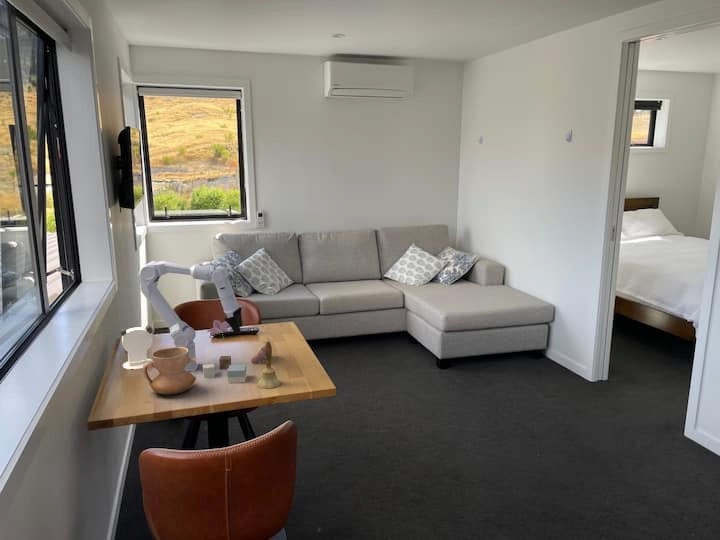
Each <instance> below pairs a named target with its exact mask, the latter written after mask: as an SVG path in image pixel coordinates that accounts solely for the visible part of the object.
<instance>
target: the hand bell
mask: <svg viewBox="0 0 720 540" xmlns="http://www.w3.org/2000/svg"><path fill="white" fill-rule="evenodd" d="M264 346H265V356H266V359H265V360H266V361H265V363H266V365H265V368H264V369H263V370H262V374H261V378H260V380H259V381H258V382H257V386H258V387H259V388H260V387H261V389H274V388H278V387H279V386H281V384H282V382H281V380H279V378H278V377H277V374H276V369H275V368H273V367H272V360H271V359H272V358H271V357H272V355H273V347H272V344H271V342H270V341H266V342H265V345H264Z"/></svg>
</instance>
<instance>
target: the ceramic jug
mask: <svg viewBox="0 0 720 540" xmlns="http://www.w3.org/2000/svg"><path fill="white" fill-rule="evenodd" d="M188 355H189V351H188V349H187V348H184V347H175V346H171V347H166V348H162V349H158V350H155V351H153V352H152V353H151V358H152V360H153V362H147V363H146V364H145V365H144V366H143V368H142V373H143V376H144V378H145V379H146V380H147V382H148V384H149V386H150V387H151V388H150V389H152V390H153V392H155V393H157V394H161V395H167V396H171V395H172V396H173V395H177V394H181V393H184V392H187V391H188V390H189V389H190V388H192V387H193V385H194V384H195V382H196V380H197V376H195V375H194V374H193V373H191V371H186V370H184V369H185V366H186V365H187V364H188V363H189V362H195V361H196V362H197V357H196V358H188ZM148 366H149V367H151V368H154V369H156V370H157V371H158V372H159V373H158V375H156V376H155V377H153V379H151V377H150V375H149V373H148V368H149V367H148Z"/></svg>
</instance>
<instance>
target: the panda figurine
mask: <svg viewBox="0 0 720 540" xmlns="http://www.w3.org/2000/svg"><path fill="white" fill-rule="evenodd" d="M153 332H154V330H153V328H152V326H151V325H146V326H145V328H144V327H138V326H136V327H131V328H128V329H126V328H121V329H120V334H121V335H120V336H121V344H122V347H123V349H124V350H125V354H126V355H127V361H125V362H124V363H123V364H122V368H123V369H124V370H131V369H134V370H141V369H142V370H143V366H144V365H145V364H146V363H147V362H153V359H151V358H147V356H148V355H147V354H148V350H149V349H151V347H152V345H153V342H154V341H153V337H152V335H151V334H153ZM149 367H150V366H148V367H147V368H149Z"/></svg>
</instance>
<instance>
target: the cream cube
mask: <svg viewBox="0 0 720 540" xmlns="http://www.w3.org/2000/svg"><path fill="white" fill-rule="evenodd" d="M215 369H216V367H215V364H214V363H207V364H202V372H203V373H202V374H203V379H209V378H208V377H211V378H216V370H215Z"/></svg>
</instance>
